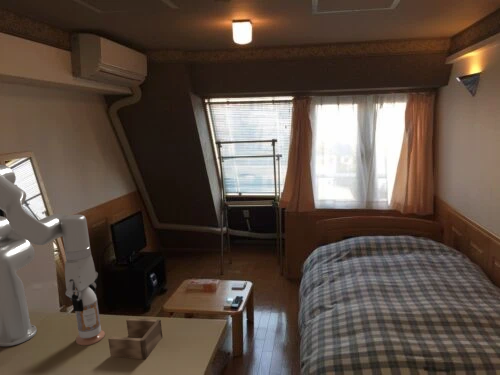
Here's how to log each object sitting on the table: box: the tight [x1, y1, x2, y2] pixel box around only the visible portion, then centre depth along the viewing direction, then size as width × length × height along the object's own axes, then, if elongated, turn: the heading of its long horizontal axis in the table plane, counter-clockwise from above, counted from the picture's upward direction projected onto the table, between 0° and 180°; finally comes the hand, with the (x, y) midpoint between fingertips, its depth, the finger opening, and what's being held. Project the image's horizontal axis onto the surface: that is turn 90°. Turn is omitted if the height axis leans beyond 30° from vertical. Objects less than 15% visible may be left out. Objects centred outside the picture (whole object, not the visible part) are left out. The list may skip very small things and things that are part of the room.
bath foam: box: [74, 286, 102, 338], centre depth 136 cm, size 7×7×20 cm
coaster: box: [75, 329, 106, 346], centre depth 138 cm, size 9×9×1 cm
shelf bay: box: [107, 317, 163, 360], centre depth 131 cm, size 12×12×6 cm
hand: (85, 304), depth 136 cm, fingers closed on bath foam, 7 cm apart
